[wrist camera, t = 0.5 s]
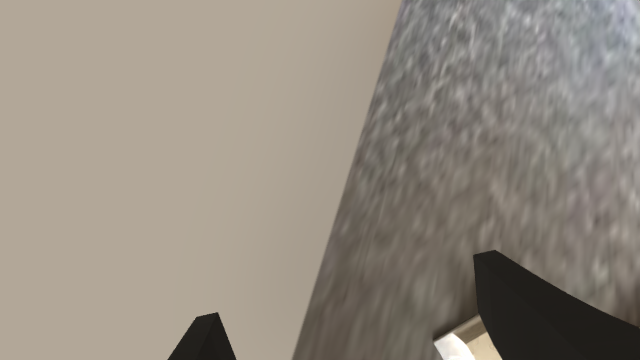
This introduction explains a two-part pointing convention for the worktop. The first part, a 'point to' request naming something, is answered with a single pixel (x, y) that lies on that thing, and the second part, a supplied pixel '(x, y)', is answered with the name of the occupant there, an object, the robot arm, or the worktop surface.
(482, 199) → the worktop surface
